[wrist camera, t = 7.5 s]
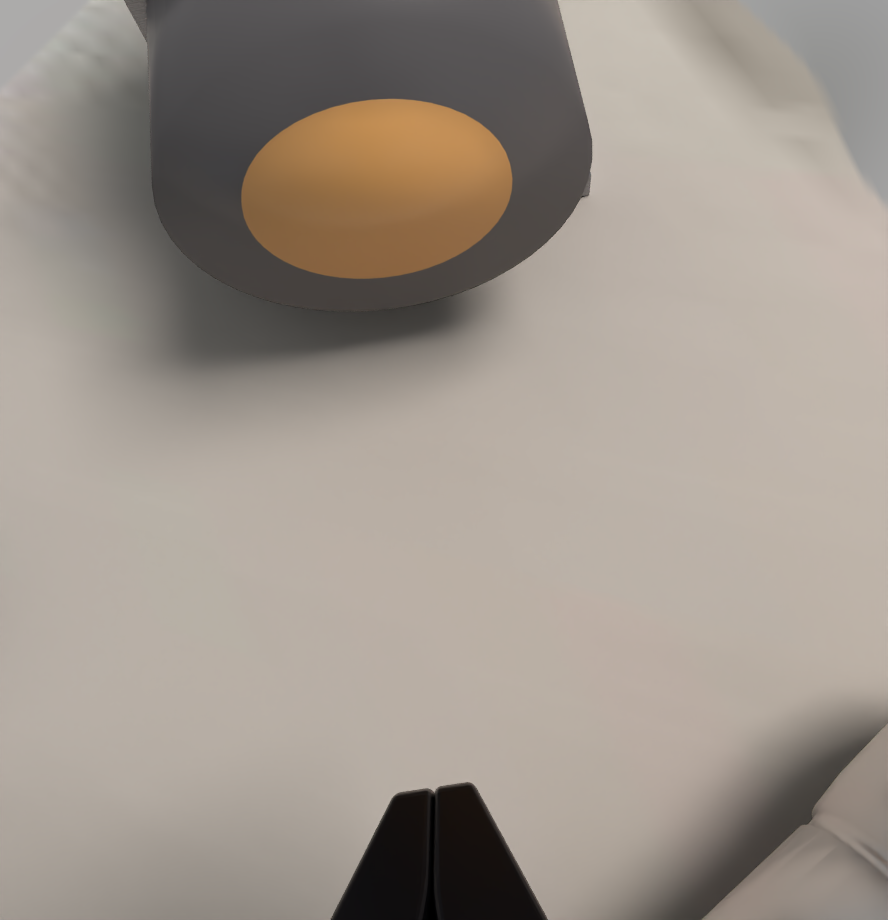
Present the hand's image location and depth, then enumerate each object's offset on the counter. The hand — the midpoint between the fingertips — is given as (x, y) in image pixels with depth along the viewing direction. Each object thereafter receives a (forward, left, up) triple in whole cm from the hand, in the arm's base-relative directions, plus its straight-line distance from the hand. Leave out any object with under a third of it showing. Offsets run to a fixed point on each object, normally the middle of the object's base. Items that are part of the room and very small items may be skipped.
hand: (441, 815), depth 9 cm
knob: (+14, +10, -8) cm, 19 cm away
